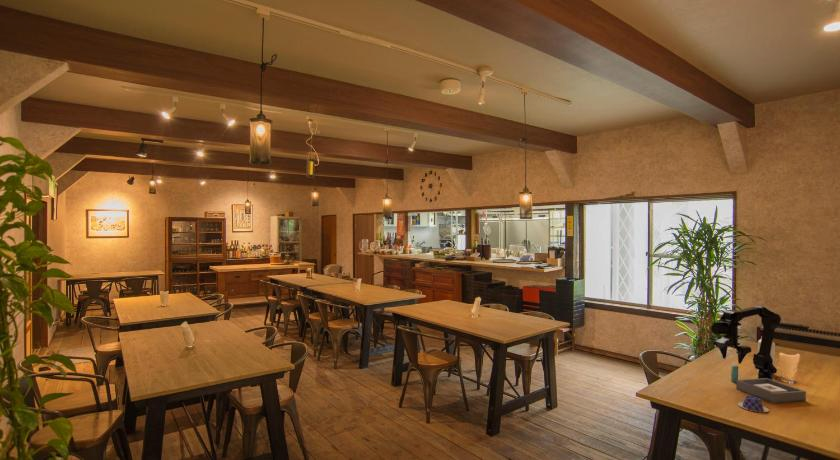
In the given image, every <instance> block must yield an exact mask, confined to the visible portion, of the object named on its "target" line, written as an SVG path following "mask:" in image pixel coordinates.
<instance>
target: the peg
mask: <svg viewBox="0 0 840 460" xmlns="http://www.w3.org/2000/svg"><path fill="white" fill-rule="evenodd" d="M730 367H731V370H730V374H731V375H730V378H731V379H730V382H732V383H735V384H736V383H737V380H739V365H734V364H731V366H730Z"/></svg>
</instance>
